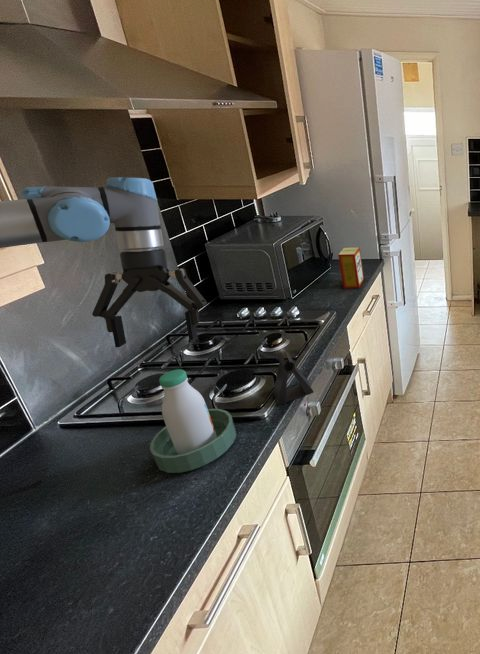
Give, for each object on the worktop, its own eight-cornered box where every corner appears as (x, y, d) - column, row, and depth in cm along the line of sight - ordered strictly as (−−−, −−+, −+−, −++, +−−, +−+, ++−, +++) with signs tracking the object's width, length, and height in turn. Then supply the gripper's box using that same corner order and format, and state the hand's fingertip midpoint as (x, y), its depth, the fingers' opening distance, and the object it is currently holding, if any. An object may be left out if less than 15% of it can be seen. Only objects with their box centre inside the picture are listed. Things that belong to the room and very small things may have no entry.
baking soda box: (359, 288, 181) (354, 253, 175) (343, 288, 180) (338, 253, 174) (364, 279, 189) (359, 246, 183) (349, 280, 189) (344, 246, 183)
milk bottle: (218, 449, 96) (193, 377, 88) (176, 464, 92) (146, 390, 84) (217, 429, 102) (194, 360, 94) (178, 442, 98) (150, 372, 90)
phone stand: (277, 405, 110) (268, 368, 106) (273, 394, 115) (264, 357, 110) (313, 392, 116) (305, 356, 111) (308, 382, 120) (300, 346, 115)
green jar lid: (144, 482, 88) (136, 465, 86) (174, 432, 102) (167, 416, 100) (225, 465, 92) (220, 448, 90) (244, 419, 106) (239, 403, 104)
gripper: (214, 244, 99) (226, 330, 102) (81, 250, 91) (99, 343, 94) (203, 248, 92) (216, 339, 95) (57, 254, 84) (77, 354, 87)
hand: (158, 341), depth 95 cm, fingers open, 13 cm apart
